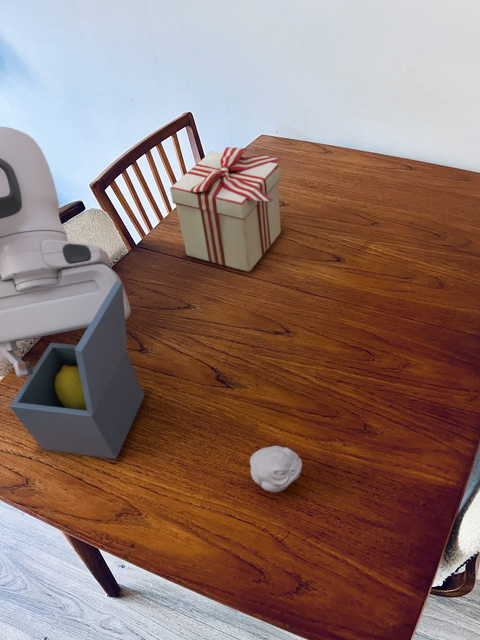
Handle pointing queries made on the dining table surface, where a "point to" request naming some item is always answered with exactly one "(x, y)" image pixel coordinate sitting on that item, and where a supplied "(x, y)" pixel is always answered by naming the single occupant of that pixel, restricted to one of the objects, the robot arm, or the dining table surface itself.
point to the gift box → (229, 208)
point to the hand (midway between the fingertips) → (62, 368)
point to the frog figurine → (275, 468)
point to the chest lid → (102, 347)
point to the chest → (71, 424)
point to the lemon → (70, 388)
